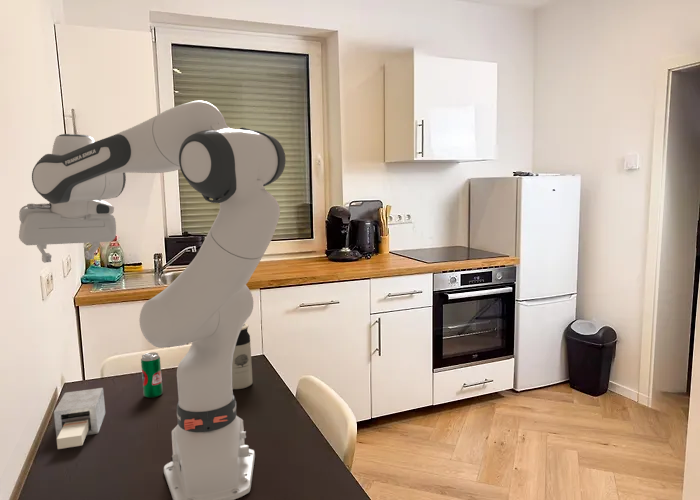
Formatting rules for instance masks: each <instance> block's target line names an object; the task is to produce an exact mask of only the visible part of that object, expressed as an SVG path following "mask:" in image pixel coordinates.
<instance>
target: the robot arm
mask: <svg viewBox="0 0 700 500" xmlns="http://www.w3.org/2000/svg"><path fill="white" fill-rule="evenodd" d="M286 161H287V160H286V154H285V150H284V147H283V145H282V144H281V143H280V141H279V140H278V139H276V138H275V137H274V136H272V135H270V134H268V133H265V132H262V131H259V130H254V129H250V128H246V127H240V128H239V129H237V128H236V129H235V128H230V126H228V125H227V123H226V120H225V117H224V115H223V114H222V113H221V111H220V110H219V109H218V108H217V106H215V105H214V104H212V103H211V102H208V101H204V100H194V101H190V102H186V103H182V104H179V105H176V106H174V107H171V108H169V109H167V110H165V111H163V112H161V113H159V114H157V115H154V116H152V117H151V118H149V119H147V120H145V121H143V122H140V123H137V124H136V125H134V126H132V127H130V128H128V129H125V130H122V131H120V132H118V133H116V134H113V135H111V136H108V137H105V138H102V139H100V140H97V141H96V140H95V138H94V137H92V136H90V135H88V134H78V133H77V134H75V133H63V134H62V133H61V134H59V135H57V136H56V137H55V139H54V142H53V145H52V151H51V153H46V154H44V155H43V156H42V157H40V158H39V160H38V161H37V162H36V164H35V165H34V167H33V169H32V171H31V183H32V185H33V188H34V190H35V191H36V192H37V194H39V195H40V196H41V197H42V198H43V199H45V200H46V201H48V203H27V204H26V205H24V206H22V207H21V208H19V209H20V210H19V216H18V217H19V221H20V225H19V231H18V239H19V241H20V242H21V243H23V244H24V245H25V246H36V248H37V249H38V250H39V252H40V254H41V261H42V262H43V263H44V264H45V263H52V254H50V253H49V252H46V251H45V250H46V249H47V245H62V244H63V245H65V244H86V243H90V244H91V246H90V248H89V249H88V250H85V251H84V254H85V255H84V258H85V259H86V260H94V258H95V253H96V251H97V250H98V248H100V244H101V243H107V242H109V243H110V242H113V241H114V240H115V239H116V236H117V222H116V218H115V216H114V215H113V214H114V211H115V207H114V206H113V205H112V204H111V203H110V202H108V201H106V200H110V199H111V200H112V199H115V198H118V197H119V196H120V195H121V194H122V192H123V191H124V189H125V187H126V182H127V181H126V180H127V177H126V176H127V175H126V174H127V173H132V174H133V173H134V174H137V173H141V174H161V173H170V172H175V171H179V170H180V171H181V173H182V175H183V176H182V177H183V178H184V179H185V180H186V182H187V183H188V184H189V185H190V186H191V188H193V189H194V191H195V190H196V192H198V193H200V194H201V195H202V197H203V199H205V201H206V202H209V203H212V204H219V209H218V210H219V211H218V213H217V215H216V218H215V219H214V221H213V223H212V224H211V227H210V229H209V231H208V233H207V235H206V236H205V238H204V240H203V243H202V244H201V246H200V248H199V250H198V251H197V253H196V255H195V257H194V258H193V259H192V261H191V262H190V263H189V264H188V265H187V266H186V267H185V269H183V270H182V272H181V273H180V274H178V276H177V277H176V278H175V279H174V280H173V281H172V282H171V283H170V284H169V285H168V286H166V288H164V289H163V290H161V292H159V293H157V294H155V296H153V297H152V298H150V299H148V300H147V301H145V302H144V304H143V306H142V307H141V310H140V313H139V320H138V321H139V328H140V331H141V333H142V335H143V337H144V338H145V339H146V340H147V342H148V343H149V344H151V345H152V346H154V347H156V348H162V349H163V348H172V347H180V346H185V345H188V344H190V343H191V346H190V348H189V350H188V351H187V353H186V354H185V355H184V357H183V358H182V359H180V360H181V361H179V363H178V366H177V368H176V384H177V397H178V399H177V400H178V402H177V404H176V417H177V418H176V419H177V425H176V426H175V427H174V428H172V430H171V444H172V446H171V447H172V455H171V458H170V460H171V461H170V462H167V463H166V464H165V465H164V466H163V474H164V477H165V480H166V483H167V485H168V488H169V489H168V490H169V492H170V494H171V498H172V500H236V499H239V498H242V497H243V496H245V495H247V494H249V493H250V491H251V487H252V481H253V473H254V467H255V466H254V465H255V458H256V453H255V449H252V448H249V447H250V446H249V445H248V444H245V439H246V438H247V431H246V430H245V429H244V428H245V427H244V420H243V418H241V417H239V416H238V415H237V401H236V397H235V395H234V392H233V390H234V389H233V388H232V360H233V354H234V350H235V346H236V342H237V339H238V336H239V333H240V331H241V329H242V327H243V325H244V323H246V322H247V320H249V318H250V316H251V315H252V313H253V310H254V298H253V294H252V291H251V290H250V288H249V287H248V285H247V284H248V283H249V281H250V279H251V277H252V276H253V274H254V272H255V271H256V269H257V267H258V265H259V264H260V262H261V260H262V259H263V256H264V255H265V253H266V252H267V250H268V247H269V246H270V244H271V241H272V239H273V236H274V234H275V231H276V229H277V226H278V222H279V219H280V216H281V215H280V214H281V208H280V205H279V202H278V200H277V199H276V198H275V196H274V195H272V194H271V193H270V192H269V191H267V189H266V188H265V187H266V186H268V185H270V184H273V183H274V182H275V181H277V180H278V179H279V178H280V177H281V176H282V174H283V172H284V170H285V167H286ZM244 430H245V431H244Z"/></svg>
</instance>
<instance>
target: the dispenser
mask: <svg viewBox="0 0 700 500" xmlns="http://www.w3.org/2000/svg"><path fill="white" fill-rule="evenodd" d="M105 404H106V403H105V394H104V387H98V388H91V389H83V390H74V391H68V392H64V394H63V395H62V397H61V399H60V400H59V402H58V404H57V406H56V407H55V409H54V411H53V417H54V426H55V435H56V438H57V437H58V436H59V434H60V432H61V430H62V428H63V425H64V424H65V422H68V421H75V420H82V419H89V418H90V421H91V425H90V427H89V430H88V432H87V435H86V436H90V435H95V434H99V432H100V429H101V428H102V423H103V421H104V419H105V415H106V405H105ZM85 411H90V414H86V415H79V416H72V417H68V416H69V414H70V413H78V412H85Z"/></svg>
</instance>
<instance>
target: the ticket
mask: <svg viewBox="0 0 700 500" xmlns="http://www.w3.org/2000/svg"><path fill="white" fill-rule="evenodd" d="M86 414H90V411H85V412H78V413H70V414H69V416H68V417H72V416H79V415H86ZM90 425H91V421H90V418H89V419H82V420H75V421H68V422H65V424H64V425H63V428H62V430H61V432H60V434H59V436H58V437H56V446H57V450H62V449H67V448H74V447H80V446H83V445H84V442H85V439H86V437H87V436H88V435H87V432H88V430H89V427H90Z"/></svg>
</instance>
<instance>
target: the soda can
mask: <svg viewBox="0 0 700 500" xmlns="http://www.w3.org/2000/svg"><path fill="white" fill-rule="evenodd" d="M140 366H141V375H142V376H141V378H142V388H143V396H144V397H145V398H147V399H156V398H158V397H160V396H162V394H163V382H162V381H163V379H162V369H161V368H162V366H161V357H160V354H159V353H158V352H152V351H151V352H147V353H144V354H141V358H140Z"/></svg>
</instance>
